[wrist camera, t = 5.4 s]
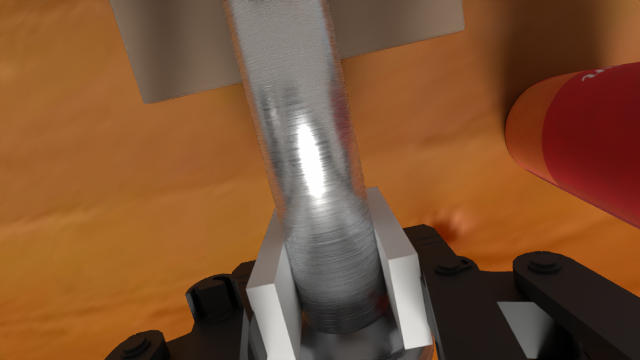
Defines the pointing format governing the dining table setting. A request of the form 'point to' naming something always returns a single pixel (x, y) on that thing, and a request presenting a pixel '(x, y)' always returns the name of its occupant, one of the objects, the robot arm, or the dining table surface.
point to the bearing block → (217, 50)
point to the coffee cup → (583, 136)
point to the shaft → (316, 177)
